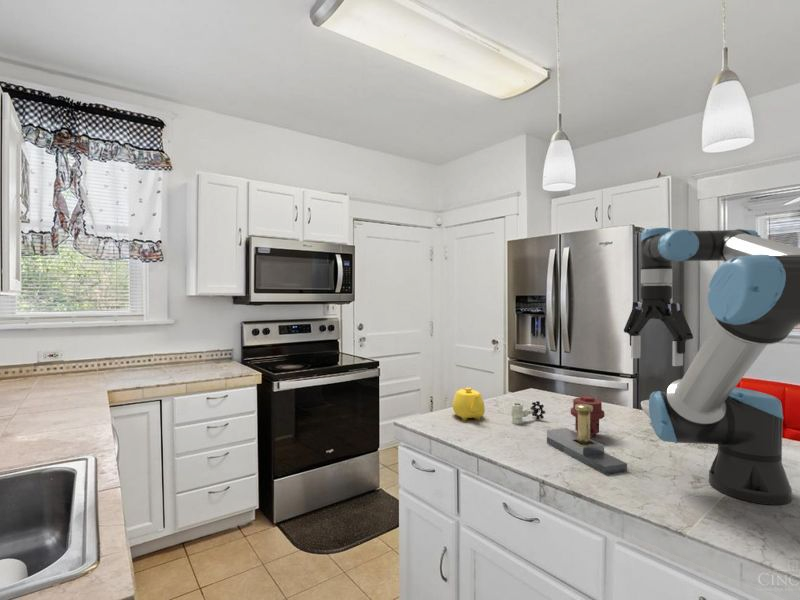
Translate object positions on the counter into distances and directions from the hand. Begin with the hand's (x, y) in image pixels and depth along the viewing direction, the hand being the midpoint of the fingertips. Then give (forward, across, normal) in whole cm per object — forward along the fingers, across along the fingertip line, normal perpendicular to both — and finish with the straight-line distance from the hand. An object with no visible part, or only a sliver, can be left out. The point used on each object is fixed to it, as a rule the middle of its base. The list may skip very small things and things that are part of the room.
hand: (655, 361), depth 122 cm
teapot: (+27, +51, +32) cm, 66 cm away
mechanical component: (+27, +21, +5) cm, 34 cm away
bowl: (+27, +21, -28) cm, 44 cm away
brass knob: (+27, +7, +18) cm, 33 cm away
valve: (+27, +40, +15) cm, 51 cm away
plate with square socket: (+27, +7, +18) cm, 33 cm away
